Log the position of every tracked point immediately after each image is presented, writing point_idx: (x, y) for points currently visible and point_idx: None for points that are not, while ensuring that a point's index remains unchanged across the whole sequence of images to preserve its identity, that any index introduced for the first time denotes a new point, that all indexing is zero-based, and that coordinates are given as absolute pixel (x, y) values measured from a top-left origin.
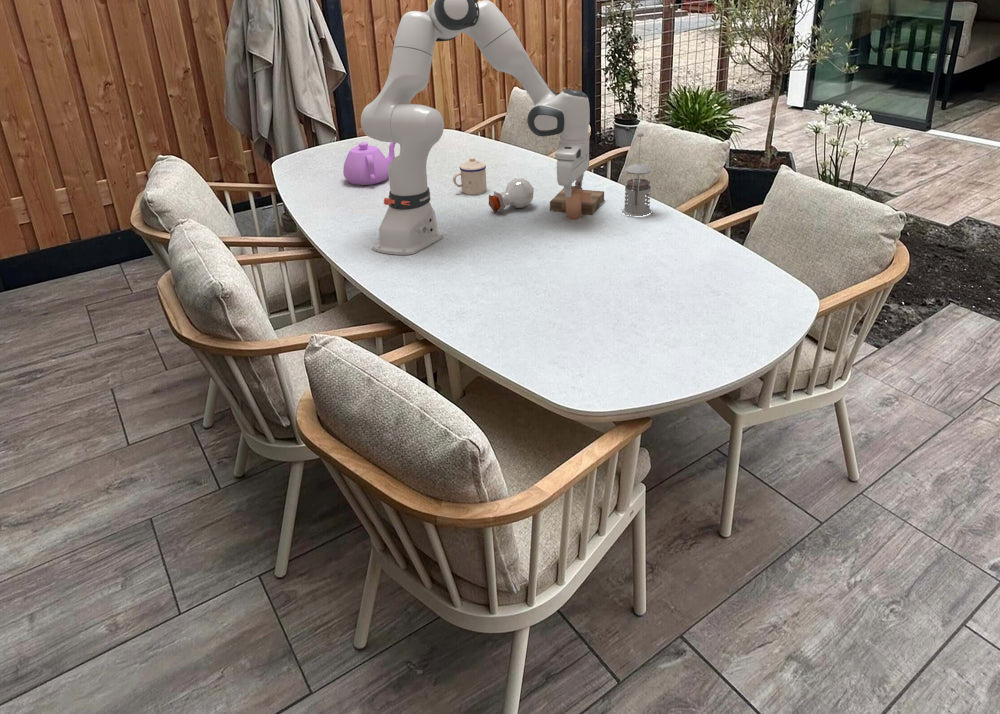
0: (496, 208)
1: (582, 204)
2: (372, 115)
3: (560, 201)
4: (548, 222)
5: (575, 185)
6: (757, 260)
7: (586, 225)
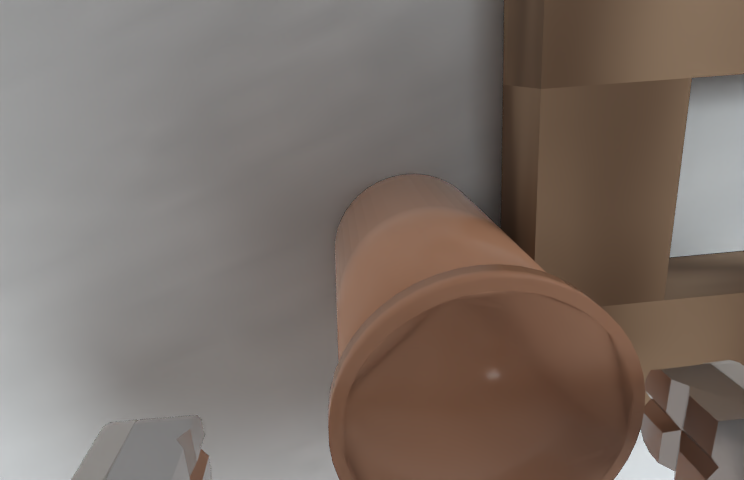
0: None
1: None
2: None
3: (587, 56)
4: (164, 74)
5: (677, 383)
6: None
7: (246, 420)
